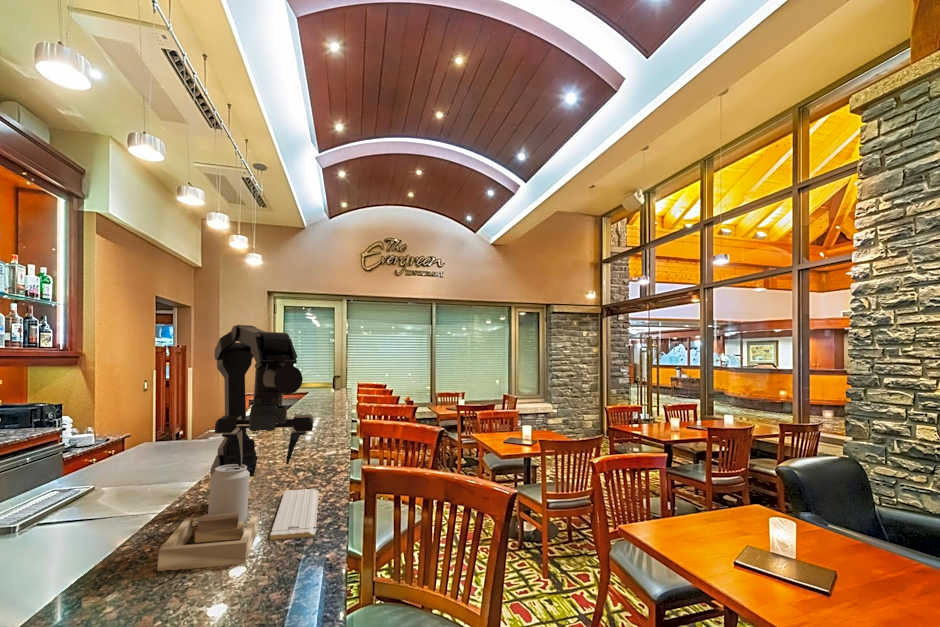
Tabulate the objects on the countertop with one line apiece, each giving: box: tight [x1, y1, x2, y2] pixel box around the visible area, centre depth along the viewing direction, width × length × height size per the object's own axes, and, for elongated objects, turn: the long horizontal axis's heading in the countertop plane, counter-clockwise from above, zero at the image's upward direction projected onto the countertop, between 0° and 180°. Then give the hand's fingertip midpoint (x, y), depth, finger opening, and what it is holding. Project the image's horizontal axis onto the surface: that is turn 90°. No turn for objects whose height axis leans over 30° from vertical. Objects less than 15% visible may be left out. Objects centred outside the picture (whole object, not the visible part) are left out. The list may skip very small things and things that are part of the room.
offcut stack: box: [194, 512, 245, 544], centre depth 91 cm, size 4×8×4 cm, turn 107°
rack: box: [156, 512, 260, 572], centre depth 86 cm, size 15×13×4 cm
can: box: [207, 464, 251, 523], centre depth 98 cm, size 8×8×12 cm
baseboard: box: [269, 488, 322, 541], centre depth 106 cm, size 30×3×10 cm
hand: (264, 464), depth 97 cm, fingers open, 9 cm apart
